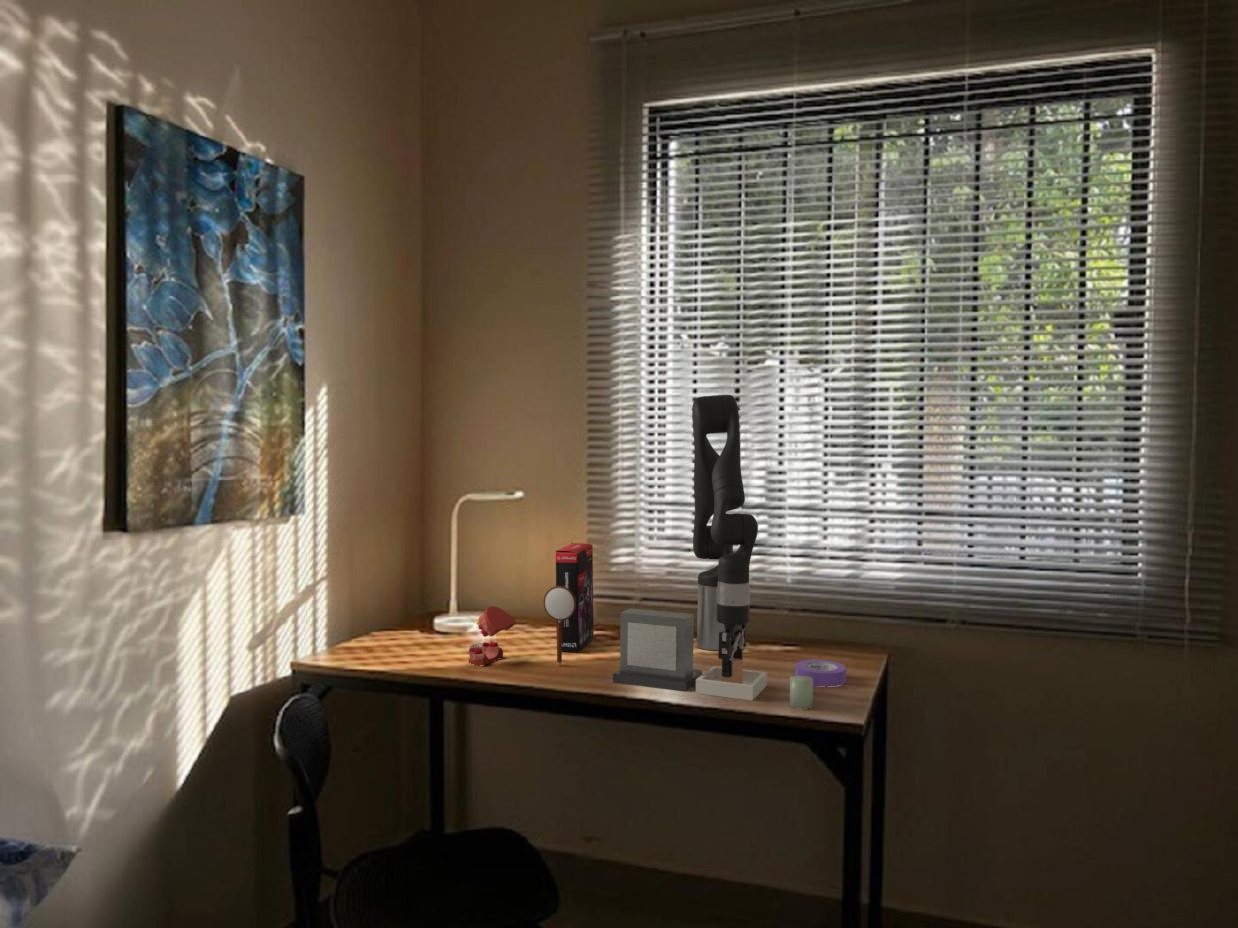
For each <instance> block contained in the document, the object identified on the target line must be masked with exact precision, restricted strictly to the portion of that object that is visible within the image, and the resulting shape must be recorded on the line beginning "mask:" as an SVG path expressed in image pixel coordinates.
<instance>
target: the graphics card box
mask: <svg viewBox="0 0 1238 928" xmlns="http://www.w3.org/2000/svg"><path fill="white" fill-rule="evenodd" d="M593 555H594V553H593V544H591V543H590V544H589V543H585V542H584V543H582V542H581V543H580V542H571V543H570V544H567V545H565V546H563V547H561V548H558V549H557V550H555V586H564V587H566V588H568V589H569V590H570V591H571V592H572V593H573V594H574V596H575V599H576V609H575V612H574V613H573V615H572V616H571V617H570V618H568V619H566V620H562V621H561V622H562V653H563V652H567V653H569V652H570V653H579V652H580V651H582V650H583V648H584V647H585V646H587V645H588V644H589V643H590V642H591V641H593V639H594V637H595V635H594V634H595V633H594V629H595V628H594V567H593V566H594V563H593V562H594V561H593V560H594V559H593V557H594V556H593ZM555 621H556V623H555V624H557V622H558V620H555Z"/></svg>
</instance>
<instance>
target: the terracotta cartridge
mask: <svg viewBox="0 0 1238 928" xmlns="http://www.w3.org/2000/svg"><path fill="white" fill-rule="evenodd" d="M743 670H744V660H743V659H742V660H741V659H737V658H733V660H732V676H731V677H730V678H729V677H723V676H722V682H730V683H739V684H743Z"/></svg>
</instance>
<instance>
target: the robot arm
mask: <svg viewBox="0 0 1238 928" xmlns="http://www.w3.org/2000/svg"><path fill="white" fill-rule="evenodd" d="M691 407H692V409H691V414H692V415H691V417H692V433H693V444H694V445H693V447H694V448H693V449H694V450H693V451H694V457H693V458H694V464H693V465H694V466H693V467H694V468H693V469H694V470H693V496H694V501H693V502H694V517H693V518H694V519H693V535H692V549H693V550H692V551H693V553H694V555H695V557H696V558H698V559H701V560H718V563H717V565H716V566H714V567H712V568H710V569H706V570H704V571H701V572H699V574H698V575H697V620H696V621H697V623H696V624H697V625H696V626H697V627H696V630H697V632H696V633H697V634H696V646H697V648H700V649H703V650H706V651H718V655H717V657H718V659H719V660H721V667H722V676H723V677H729V678H730V677H731V676H732V660H733V658H737V659H741V660H743V653H744V651H745V648H746V647H747V624H749V623H750V619H751V589H750V564H751V559H752V553H753V550H754V546H755V543H756V542H757V541H756V540H757V536H758V532H759V525H758V521H757V519H756V518H755V517H754V515H752V514H751V513H750V514H749V513H728V512H729V511H734V510H737V509H740V508H741V507H743V505H745V501H746V495H745V489H744V483H743V475H742V467H741V466H742V465H741V435H740V434H741V433H740V432H741V431H740V428H741V427H740V414H739V406H738V403H737V400H736V398H735V396H734V395H732V394H720V395H705V396H698V397H696V398H695V399H694V400H693V402H692V406H691ZM722 433H723V434H724V433H726V441H725V444H724V447H723V449H722V451H721V453H720V454H719V453H718V452H717V451H716V450H715V449H714V447H713V446H712V443H711V442H710V441H709V440H710V439H708V436H707V435H710V434H722ZM711 518H712V521H711V524H710V525H709V524H708V523H709V520H711ZM735 545H736V546H737V545H738V548H737V550H736V551H735V552H734V546H735Z"/></svg>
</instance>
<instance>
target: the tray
mask: <svg viewBox="0 0 1238 928" xmlns="http://www.w3.org/2000/svg"><path fill="white" fill-rule="evenodd" d="M767 686H768V672H767V671H760V670H759V671H758V670H750V669H743V684H739V683H730V682H722V666H715V665H713V666H711V667H710V668H709V669H708V670H706V671H705V672H704V673H702V675H701V676H700V677H699V678H697V679H696V684H695V694H697V695H705V696H713V697H722V698H730V699H737V700H745V701H754V700H755V699H756V698H757V696H759V694H761V693H762V691H763V690H765V688H766V687H767ZM753 699H754V700H753Z"/></svg>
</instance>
